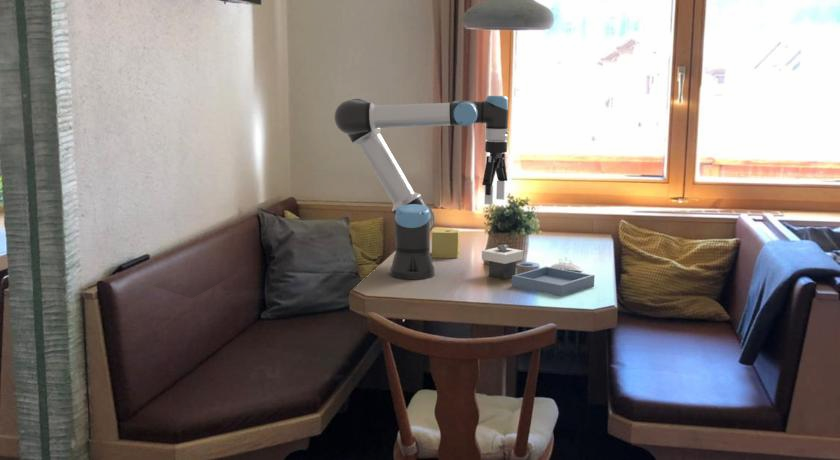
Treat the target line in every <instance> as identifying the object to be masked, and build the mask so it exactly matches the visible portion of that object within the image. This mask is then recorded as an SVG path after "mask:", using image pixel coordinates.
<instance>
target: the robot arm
mask: <svg viewBox="0 0 840 460" xmlns="http://www.w3.org/2000/svg"><path fill="white" fill-rule="evenodd" d="M334 121H335V126H336V127H337V128H338V129H339V130H340V131H341V132H343V133H344V134H346V135H347V136H348V138H349V139H350V141H351V143H352V144H353V145H357V146H358V147H359V148H360V150H361V151H362V153H363V155H364V156H365V158H366V160H367V162H368V163H369V165H370V167H371V169H372V170H373V172H374V173H375V176H376V177H377V179H378V181H379V182H380V184H381V186H382V187H383V188H384V189H383V190H384V191H385V193H386V194H387V196H388V197H389V199H390V201H391V203H392V205H393V206H392V209H391V211H392V213H393V214H394V220H395V253H394V256H393V260H392V263H391V266H390V276H391V277H394V278H397V279H403V280H423V279H428V278H432V277H434V276H435V274H436V273H435V266H434V265H433V260H432V255H431V253H430V251H431V249H430V246H431V245H430V244H431V243H430V241H431V240H430V232H431V231H432V230H433V228H434V226H435V225H434V224H435V213H434V211H433V209H432V208H431V207H430V205H428V204H427V203H426V201H425V199H424V198H423V196H422V195H421V193H419V192H416V191H414V189H413V187H412V186H411V184H410V182H409V180H408V179H407V177H406V175H405V174H404V172H403V170H402V168H401V166H400V165H399V163H398V161H397V160H396V158H395V157H394V155H393V152H391V150H390V148H389V146H388V145H387V142H386V141H385V139H384V137H383V136H382V134H381V132H382V131H381V130H382V129H389V128H390V129H391V128H393V129H394V128H417V127H418V128H420V127H421V128H422V127H443V126H445V127H446V126H463V127H467V126H468V127H469V126H472V125H473V124H485V140H486V141H485V143H484V144H485V146H484V151H485V153H490V154H489V155H487V156H486V160H485V161H486V162H485V166H484V167H485V168H484V175H483V179H482V186H484V205H494V185H493V183H494V179H495V176H496V178H497V180H496V196H495V199H496V200H505V190H506V189H505V188H506V186H505V185H506V183H505V182H507V181H508V175H507V173H508V172H507V167H506V165H507V164H506V154H505V153H507V152H508V142H507V140H508V135H509V134H510V133H509V131H508V125H509V124H508V123H509V122H508V121H509V98H508V97H507V96H506V95H487V96H486V100H484V101H480V100H479V101H476V100H475V101H473V100H454V101H452V102H439V103H438V102H436V103H434V102H433V103H413V104H412V103H410V104H409V103H408V104H406V103H405V104H380V105H379V104H378V105H376V104H374V103H373V102H367V100H364V99H361V98H354V99H353V98H352V99H348V100H346V101H342V103H340V104H339V105H338V106H337V107H336V109H335V112H334Z"/></svg>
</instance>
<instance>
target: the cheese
mask: <svg viewBox="0 0 840 460" xmlns="http://www.w3.org/2000/svg"><path fill="white" fill-rule="evenodd" d="M460 252H461V245H460V230H459V229H453V228H450V227H449V228H448V227H441V226H440V227H434V226H433V228H432V233H431V259H432V258H435V259H437V258H438V259H442V258H443V259H458V258H459V254H460Z"/></svg>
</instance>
